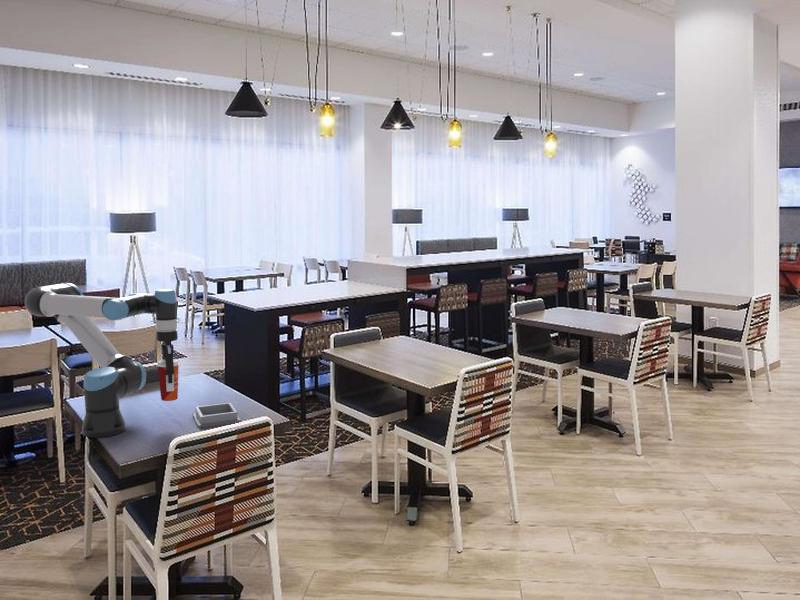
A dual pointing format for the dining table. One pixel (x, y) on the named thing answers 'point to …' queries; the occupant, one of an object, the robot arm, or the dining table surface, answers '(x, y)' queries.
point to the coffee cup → (162, 381)
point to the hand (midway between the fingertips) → (169, 387)
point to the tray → (215, 415)
